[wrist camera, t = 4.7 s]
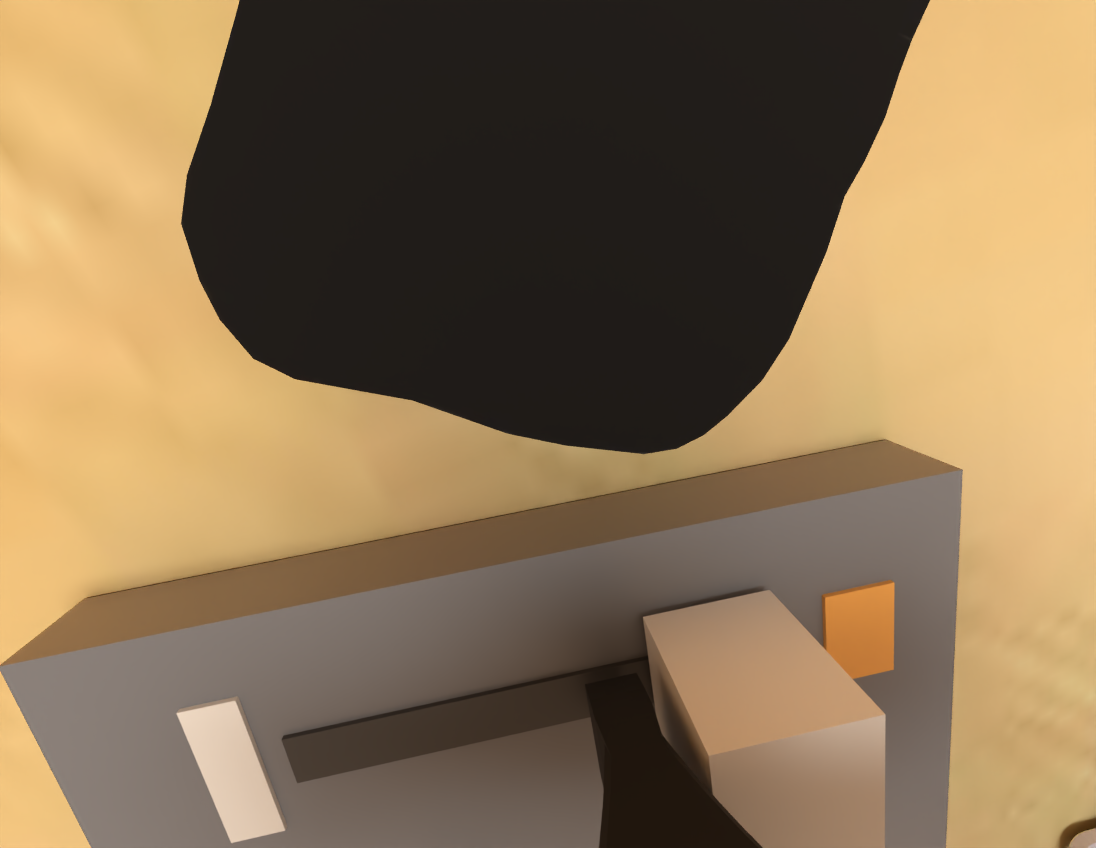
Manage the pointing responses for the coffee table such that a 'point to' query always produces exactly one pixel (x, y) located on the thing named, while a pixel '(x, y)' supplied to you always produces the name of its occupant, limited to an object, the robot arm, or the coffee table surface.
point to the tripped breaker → (770, 723)
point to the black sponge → (536, 198)
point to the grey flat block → (486, 662)
